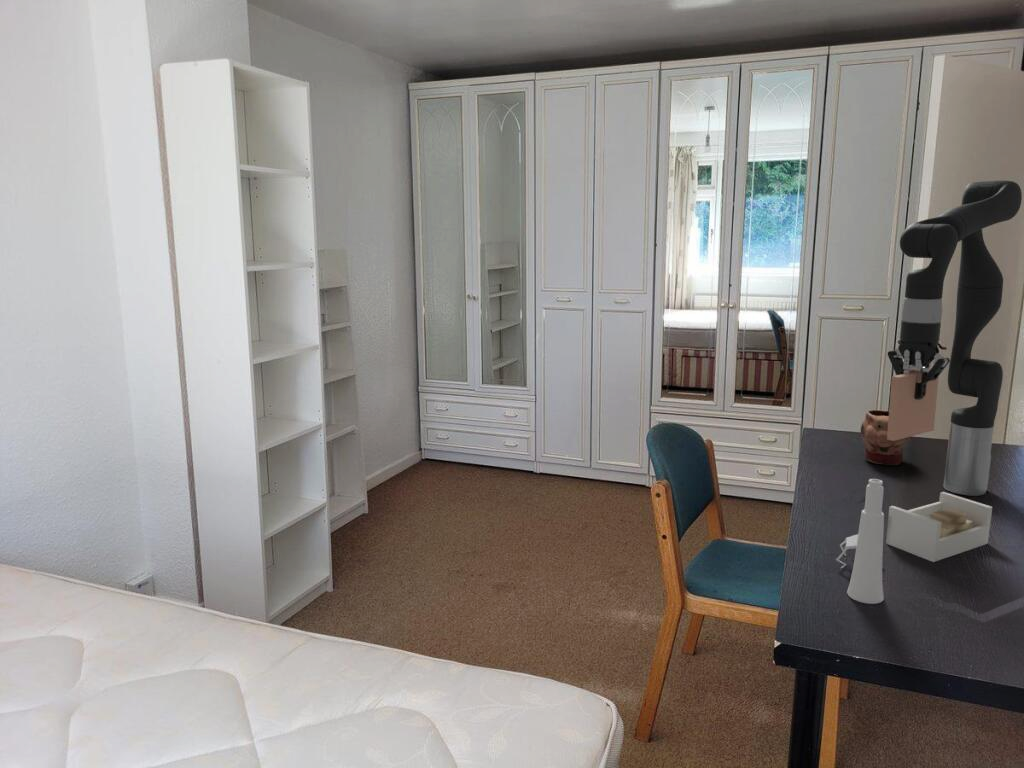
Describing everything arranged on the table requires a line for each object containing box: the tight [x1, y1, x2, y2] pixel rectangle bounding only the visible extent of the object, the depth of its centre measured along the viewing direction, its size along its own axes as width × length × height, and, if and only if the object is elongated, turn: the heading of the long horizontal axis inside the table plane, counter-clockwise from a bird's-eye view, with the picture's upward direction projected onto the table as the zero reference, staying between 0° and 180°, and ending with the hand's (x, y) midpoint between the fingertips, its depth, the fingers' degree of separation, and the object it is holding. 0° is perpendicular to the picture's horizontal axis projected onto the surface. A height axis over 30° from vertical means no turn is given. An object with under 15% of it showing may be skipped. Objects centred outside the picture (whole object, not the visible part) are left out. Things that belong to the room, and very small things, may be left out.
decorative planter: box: [860, 409, 909, 466], centre depth 217 cm, size 20×12×14 cm, turn 161°
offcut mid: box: [940, 519, 973, 539], centre depth 157 cm, size 9×4×2 cm, turn 118°
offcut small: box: [929, 508, 967, 529], centre depth 156 cm, size 6×4×2 cm, turn 118°
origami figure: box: [835, 533, 884, 569], centre depth 153 cm, size 12×8×5 cm
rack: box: [885, 491, 993, 563], centre depth 158 cm, size 18×10×9 cm, turn 118°
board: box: [887, 367, 940, 441], centre depth 168 cm, size 14×2×14 cm, turn 119°
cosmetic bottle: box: [846, 478, 885, 605], centre depth 137 cm, size 6×6×22 cm
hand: (913, 397), depth 168 cm, fingers closed on board, 1 cm apart
